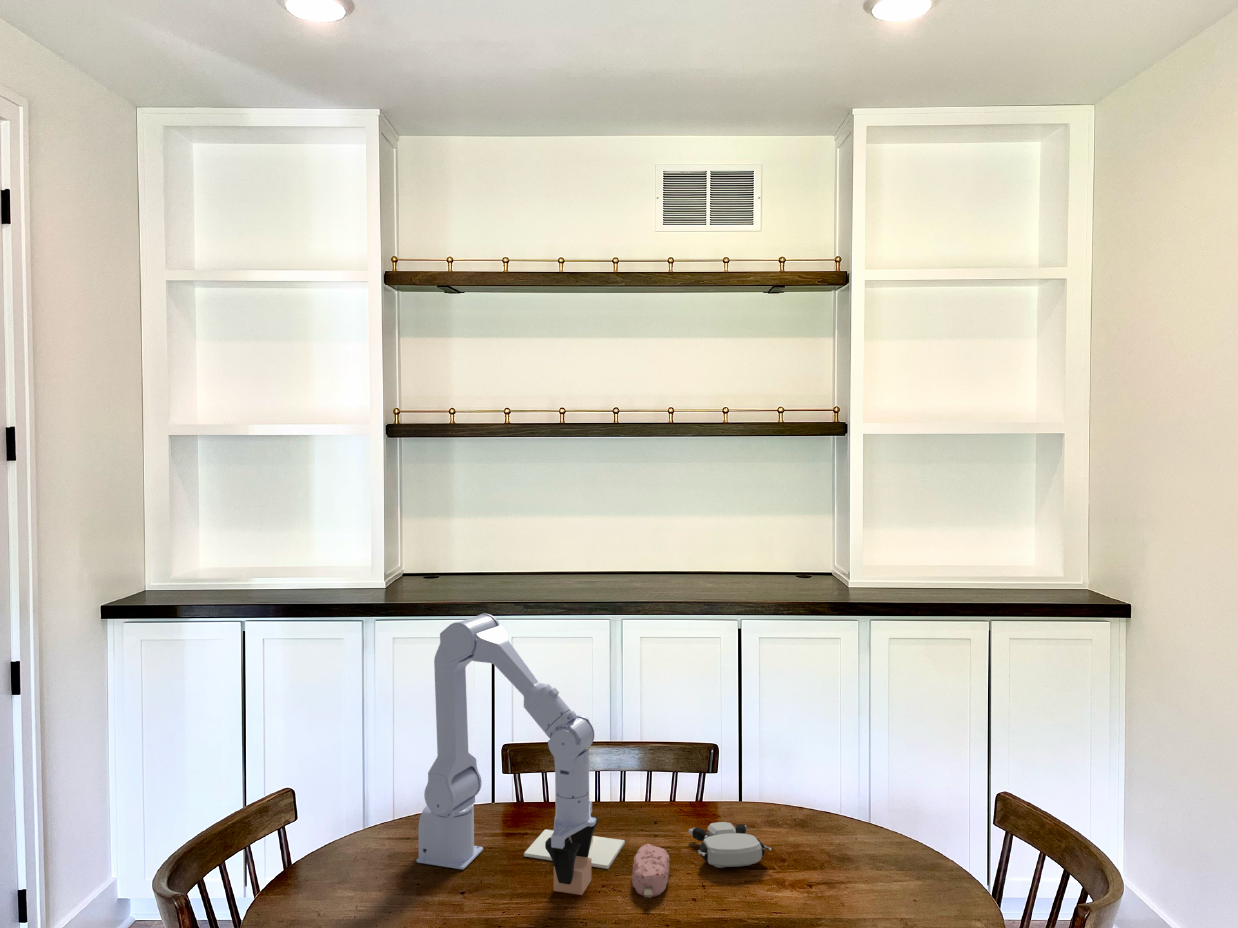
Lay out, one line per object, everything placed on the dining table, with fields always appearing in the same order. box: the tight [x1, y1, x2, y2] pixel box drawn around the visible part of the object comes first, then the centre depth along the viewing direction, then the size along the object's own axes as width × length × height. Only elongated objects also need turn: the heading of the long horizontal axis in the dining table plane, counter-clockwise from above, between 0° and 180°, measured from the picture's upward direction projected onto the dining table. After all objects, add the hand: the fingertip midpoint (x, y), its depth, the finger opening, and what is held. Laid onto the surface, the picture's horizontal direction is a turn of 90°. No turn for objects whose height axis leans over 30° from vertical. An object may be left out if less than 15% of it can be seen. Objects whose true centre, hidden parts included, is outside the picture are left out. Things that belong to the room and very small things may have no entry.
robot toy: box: [688, 821, 772, 869], centre depth 154 cm, size 12×4×15 cm
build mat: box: [523, 829, 626, 870], centre depth 157 cm, size 16×10×1 cm, turn 73°
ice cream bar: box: [631, 843, 671, 899], centre depth 144 cm, size 6×4×15 cm
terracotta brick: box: [553, 856, 592, 896], centre depth 144 cm, size 5×5×4 cm
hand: (573, 871), depth 144 cm, fingers open, 7 cm apart
